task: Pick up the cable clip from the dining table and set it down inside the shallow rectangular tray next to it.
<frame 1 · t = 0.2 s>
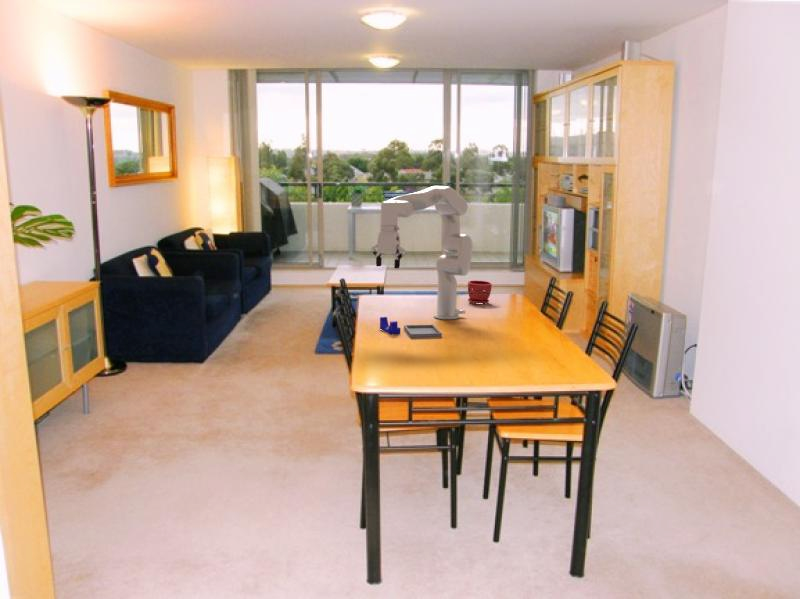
hand: (387, 267, 324), 30 cm above the table, tool pointing down, fingers open, 9 cm apart
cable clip: (389, 332, 330), on the table
shallow rectangular tray: (422, 333, 327), on the table
plant pot: (478, 303, 403), on the table
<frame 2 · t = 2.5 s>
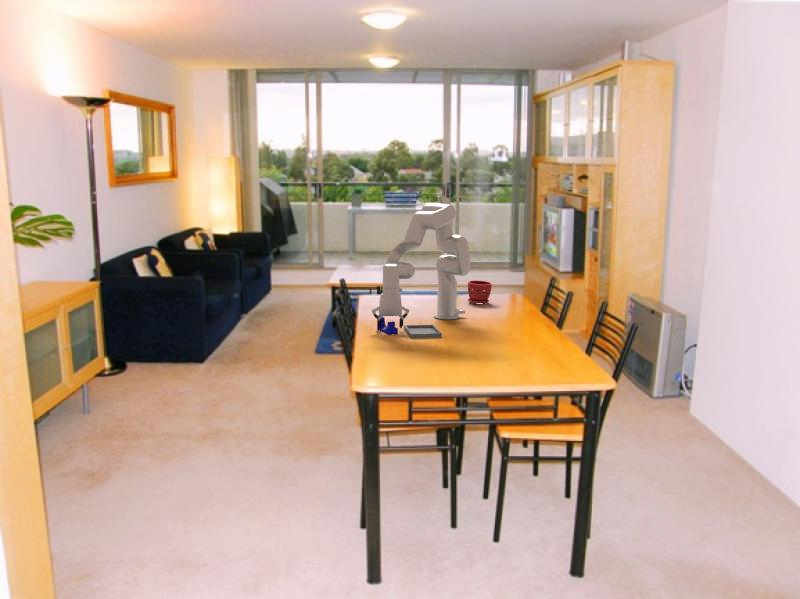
hand: (390, 328, 330), 2 cm above the table, tool pointing down, fingers open, 9 cm apart
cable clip: (387, 332, 329), on the table, touching gripper
everything else where it was.
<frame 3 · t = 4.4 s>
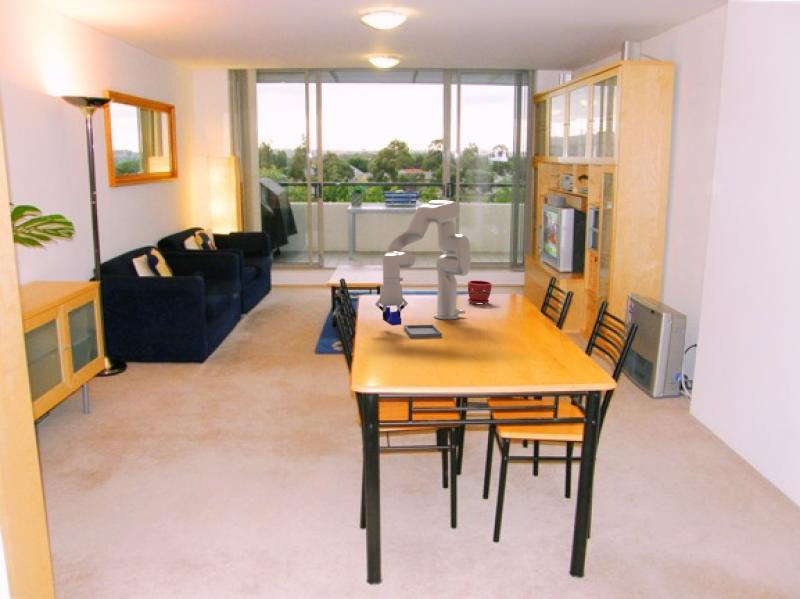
hand: (391, 319, 330), 6 cm above the table, tool pointing down, fingers closed on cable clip, 5 cm apart
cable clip: (392, 322, 329), point 4 cm above the table, touching gripper
everything else where it was.
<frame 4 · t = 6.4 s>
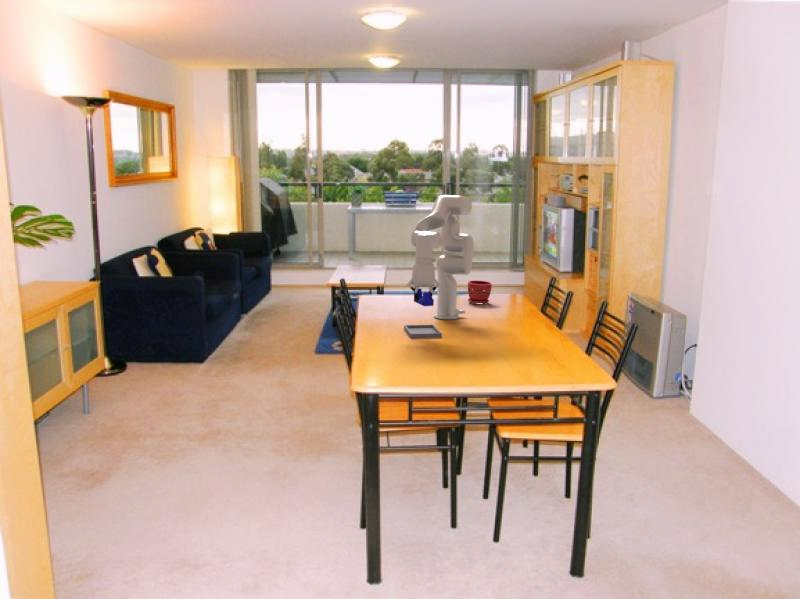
hand: (423, 300, 325), 15 cm above the table, tool pointing down, fingers closed on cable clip, 5 cm apart
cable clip: (423, 304, 325), point 14 cm above the table, touching gripper
everything else where it was.
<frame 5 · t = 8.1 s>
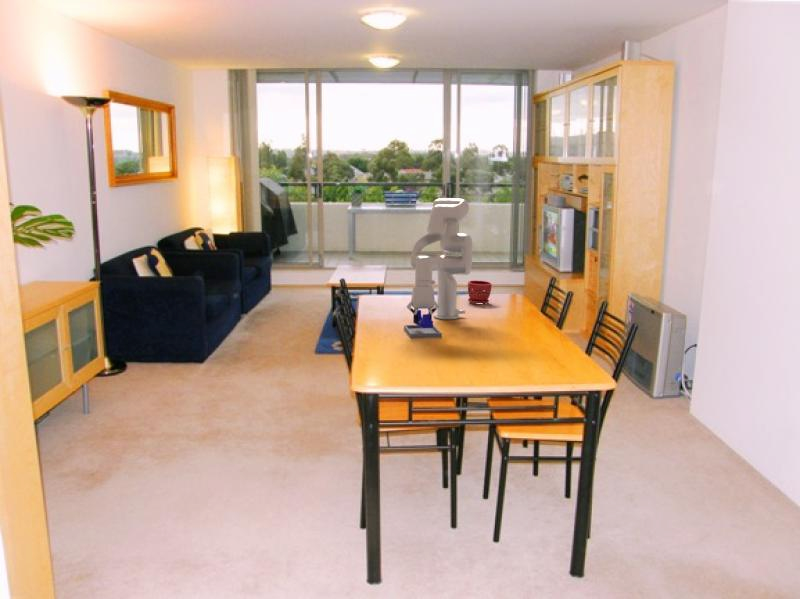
hand: (422, 322, 326), 5 cm above the table, tool pointing down, fingers closed on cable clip, 5 cm apart
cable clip: (422, 325, 326), point 4 cm above the table, touching gripper
everything else where it was.
when the fingers open (3 cm above the table, at t = 9.4 s): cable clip drops 1 cm, resting on shallow rectangular tray.
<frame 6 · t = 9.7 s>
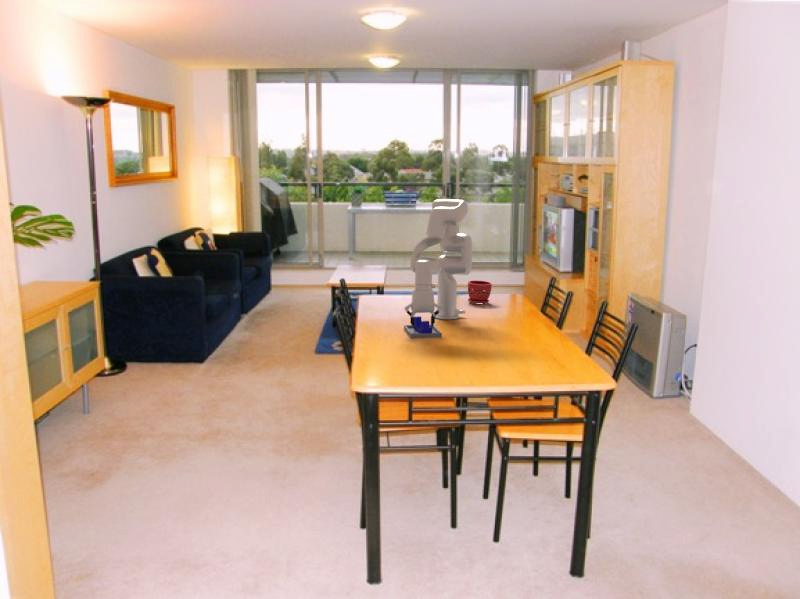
hand: (422, 325, 327), 4 cm above the table, tool pointing down, fingers open, 8 cm apart
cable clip: (422, 332, 327), point 1 cm above the table, touching shallow rectangular tray
everything else where it was.
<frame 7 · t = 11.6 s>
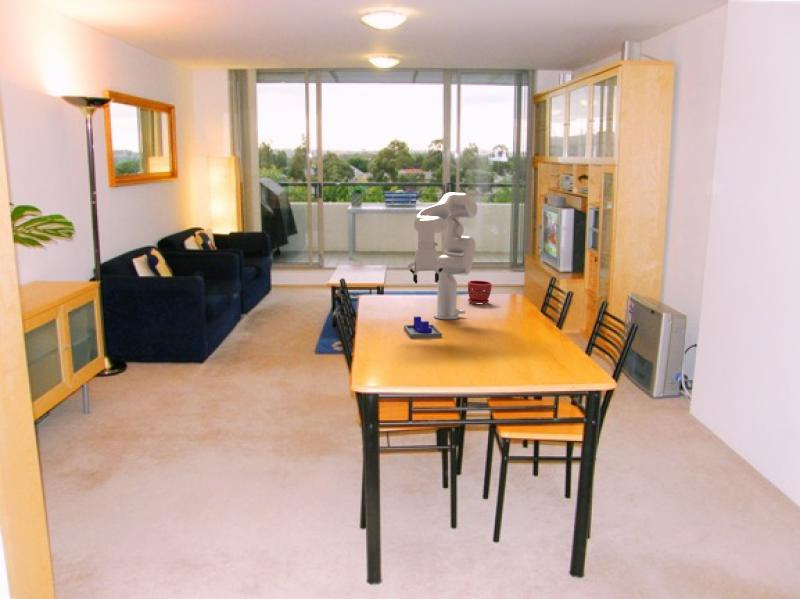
hand: (426, 282, 332), 22 cm above the table, tool pointing down, fingers open, 9 cm apart
nothing on the table moved.
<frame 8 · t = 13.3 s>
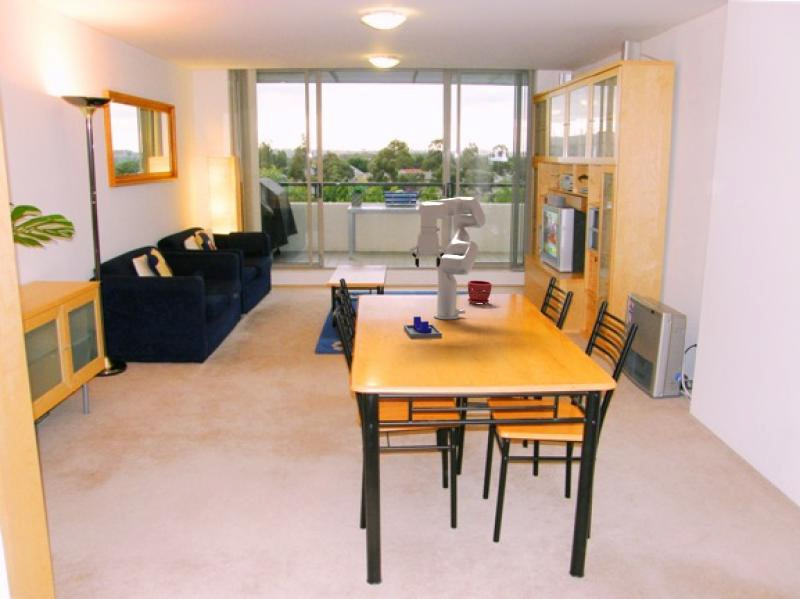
hand: (427, 266, 339), 28 cm above the table, tool pointing down, fingers open, 9 cm apart
nothing on the table moved.
at the end: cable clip inside the target area on the shallow rectangular tray (0.3 cm from its centre), point 0.6 cm above the shallow rectangular tray's base; the gripper is holding nothing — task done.
